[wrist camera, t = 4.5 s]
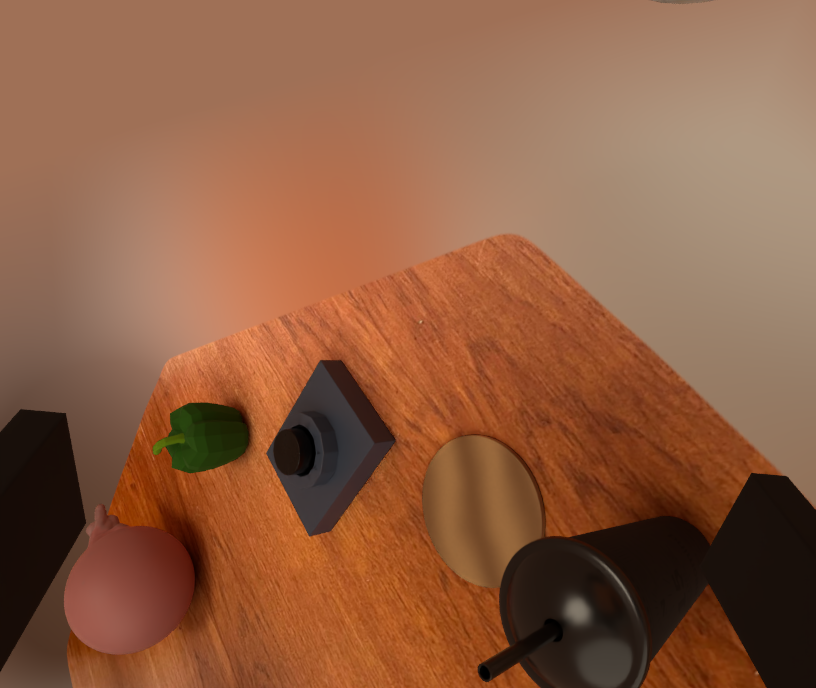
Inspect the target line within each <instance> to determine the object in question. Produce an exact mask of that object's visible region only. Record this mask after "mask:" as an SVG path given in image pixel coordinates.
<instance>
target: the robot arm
mask: <svg viewBox="0 0 816 688" xmlns="http://www.w3.org/2000/svg"><path fill="white" fill-rule="evenodd" d="M85 524H86V520H85V514H84V509H83V504H82V499H81V493H80V487H79V482H78V477H77V471H76V466H75V461H74V455H73V450H72V445H71V439H70V433H69V428H68V423H67V418H66V413H56V412H45V411H34V410H22V409H21V410H20V411H19V412H18V413H17V414H16V415H15V416H14V417H13V418H12V420H11V421H10V422H9V423H8V424H7V425H6V426H5V428H4V429H3V430H2V431H1V432H0V671H1V670H2V668H3V666H4V664H5V663H6V661H7V659H8V657H9V656H10V654H11V652H12V650H13V649H14V647H15V645H16V644H17V642H18V640H19V638H20V637H21V635H22V633H23V632H24V630H25V628H26V626H27V625H28V623H29V621H30V619H31V618H32V616H33V614H34V612H35V611H36V609H37V607H38V605H39V604H40V602H41V600H42V598H43V597H44V595H45V593H46V591H47V590H48V588H49V586H50V584H51V583H52V581H53V579H54V578H55V576H56V574H57V572H58V571H59V569H60V567H61V565H62V564H63V562H64V560H65V559H66V557H67V555H68V553H69V552H70V550H71V548H72V546H73V545H74V543H75V541H76V539H77V538H78V536H79V534H80V532H81V531H82V529H83V527H84V526H85ZM699 567H700V568H701V570H702V572H703V574H704V576H705V577H706V579H707V581H708V583H709V585H710V586H711V588H712V590H713V592H714V594H715V595H716V597H717V599H718V601H719V603H720V604H721V606H722V608H723V610H724V612H725V613H726V615H727V617H728V619H729V621H730V622H731V624H732V626H733V628H734V630H735V631H736V633H737V635H738V637H739V639H740V640H741V642H742V644H743V646H744V648H745V649H746V651H747V653H748V655H749V657H750V658H751V660H752V662H753V664H754V666H755V667H756V669H757V671H758V673H759V675H760V676H761V678H762V680H763V682H764V684H765V685H766V687H767V688H816V510H815V509H814V508H813V506H812V505H811V504H810V503H809V502H808V500H807V499H806V498H805V497H804V496H803V495H802V493H801V492H800V491H799V490H798V489H797V487H796V486H795V485H794V484H793V483H792V482H791V480H790V479H789V478H788V477H787V476H779V475H768V474H756V473H751V475H750V477H749V478H748V480H747V482H746V484H745V485H744V487H743V489H742V491H741V492H740V494H739V496H738V498H737V500H736V501H735V503H734V505H733V507H732V508H731V510H730V512H729V514H728V516H727V517H726V519H725V521H724V523H723V524H722V526H721V528H720V530H719V531H718V533H717V535H716V537H715V539H714V540H713V542H712V544H711V546H710V547H709V549H708V551H707V553H706V555H705V556H704V558H703V560H702V562H701V563H700V565H699Z"/></svg>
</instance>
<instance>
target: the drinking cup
mask: <svg viewBox="0 0 816 688" xmlns="http://www.w3.org/2000/svg"><path fill="white" fill-rule="evenodd" d="M709 547H710V545H709V543H708V542H707V540H706V539H705V537H704V536H703V535H702V533H701V532H700V531H699V530H698V529H696V528H695V527H694V526H693V525H691V524H690V523H688V522H686V521H684V520H682V519H679V518H676V517H671V516H661V517H656V518H651V519H647V520H643V521H638V522H634V523H630V524H625V525H621V526H616V527H612V528H608V529H603V530H599V531H594V532H590V533H586V534H581V535H577V536H572V537H562V536H550V537H544V538H540V539H537V540H534V541H532V542H530V543H528V544H526V545H524V546H523V547H522V548H520V549H519V550H518V551H517V552H516V553H515V554H514V555H513V557H512V558H511V560H510V561H509V563H508V565H507V567H506V569H505V571H504V574H503V577H502V580H501V586H500V594H499V605H500V614H501V620H502V624H503V628H504V632H505V635H506V637H507V640H508V642H509V645H510V646H509V647H508V648H506V649H504V650H503V651H501V652H499V653H498V654H496V655H494V656H493V657H491V658H489V659H488V660H486V661H484V662H483V663H481V664H479V666H478V674H479V676H480V678H481V679H482V680H483V681H485V682H489V681H491V680H492V679H494V678H495V677H497V676H498V675H500V674H501V673H503V672H505V671H506V670H508V669H509V668H511V667H512V666H514V665H515V664H517V663H520V664H521V666H522V667H523V669H524V670H525V671H526V673H527V674H528V675H529V676H530V677H531V678H532V680H533V681H534V682H535V683H536V684H537V685H538V686H540V687H541V688H640V687H641V685H642V684H643V682H644V680H645V678H646V676H647V673H648V670H649V667H650V662H651V661H652V659H653V658H654V656H655V655H656V654H657V652H658V651H659V650H660V648H661V647H662V646H663V644H664V643H665V642H666V640H667V639H668V637H669V636H670V635H671V633H672V632H673V631H674V629H675V628H676V627H677V625H678V624H679V623H680V621H681V620H682V618H683V617H684V616H685V614H686V613H687V612H688V610H689V609H690V608H691V606H692V605H693V604H694V602H695V601H696V600H697V598H698V597H699V595H700V594H701V593H702V591H703V590H704V589H705V587H706V586H707V585H708V581H707V579H706V577H705V576H704V574H703V572H702V570H701V568H700V567H699V565H700V563H701V562H702V560H703V558H704V556H705V555H706V553H707V551H708V549H709Z"/></svg>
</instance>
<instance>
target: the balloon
mask: <svg viewBox="0 0 816 688" xmlns="http://www.w3.org/2000/svg"><path fill="white" fill-rule="evenodd" d="M86 532H87V534H88V535H89V536H90V540H89V544H88V548H87V550H86V551H85V552H84V553H83V554H82V555H81V556H80V557H79V559H78V561H77V562H76V563H75V565H74V567H73V568H72V571H71V572H70V575H69V577H68V580H67V583H66V587H65V594H64V608H65V613H66V617H67V620H68V623H69V625H70V627H71V629H72V631H73V632H74V633H75V635H76V636H77V637H78V638H79V639H80V640H81V641H82V642H83V643H85V644H86V645H87V646H89V647H91V648H93V649H95V650H97V651H100V652H103V653H108V654H130V653H135V652H139V651H142V650H145V649H147V648H149V647H151V646H153V645H155V644H157V643H158V642H160V641H161V640H163V639H164V638H165V637H167V636H168V635H169V634H170V633H171V632H172V631H173V630H174V629H175V628H176V627H177V626H178V624H179V623H180V622H181V620H182V619H183V617H184V616H185V614H186V612H187V610H188V608H189V606H190V604H191V601H192V597H193V593H194V587H195V573H194V567H193V563H192V560H191V558H190V555H189V553H188V552H187V550H186V549H185V547H184V546H183V545H182V544H181V542H180V541H178V540H177V539H176V538H175V537H174V536H172V535H171V534H169V533H167V532H165V531H163V530H160V529H157V528H153V527H147V526H134V527H129V526H128V525H125V524H122V523H120V522H119V519H118V517H117V516H115V515H109V516H108V515H107V514H106V510H105V506H104V505H103V504H99V505H97V506H96V510H95V522H93V523H91V524H90V525H89V526H88V527H87V529H86Z"/></svg>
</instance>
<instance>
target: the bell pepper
mask: <svg viewBox="0 0 816 688" xmlns="http://www.w3.org/2000/svg"><path fill="white" fill-rule="evenodd" d="M170 424H171V427H172V430H171V432H170V433H169V436H168V437H166V438H163V439H161V440H159V441H158V442H157V443H156V444H155V445H154V446H153V454H155V455H158V454H159V453H160V452H161V449H162V448H163V447H166V448H167V450H168V452H169V454H170V455H171V457H172V468H174V469H178V470H181V471H184V472H187V473H195V472H201V471H206V470H210V469H214V468H217V467H219V466H222V465H225V464H227V463H229V462H231V461H234V460H236V459H237V458H238V457H240V456H241V455H242V454H243V453H244V452H245V450H246V448H247V445H248V434H249V432H248V429H247V426H246V424H244V423H242V416H241V414H240V412H239V411H238V410H236V409H235V408H232V407H228V406H224V405H218V404H212V403H188V404H186V405H184V406H182V407H180V408H179V409H177V410H175V411H174V412H172V413H170Z"/></svg>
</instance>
